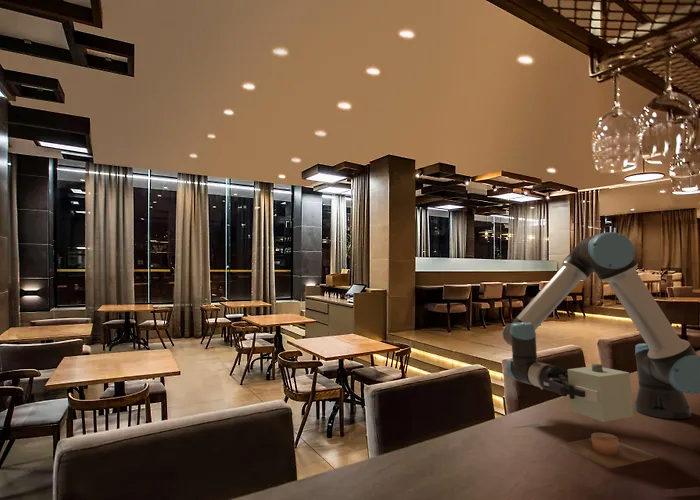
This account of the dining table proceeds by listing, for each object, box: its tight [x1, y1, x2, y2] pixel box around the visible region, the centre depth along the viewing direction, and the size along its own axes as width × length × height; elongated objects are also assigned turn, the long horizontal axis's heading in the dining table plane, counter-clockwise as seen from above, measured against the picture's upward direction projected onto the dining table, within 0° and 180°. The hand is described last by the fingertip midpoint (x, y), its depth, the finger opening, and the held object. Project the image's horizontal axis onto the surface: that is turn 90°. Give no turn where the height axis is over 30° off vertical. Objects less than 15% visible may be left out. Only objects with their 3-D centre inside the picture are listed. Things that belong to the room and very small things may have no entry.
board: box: [557, 437, 660, 470], centre depth 106 cm, size 16×16×1 cm
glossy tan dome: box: [590, 432, 619, 455], centre depth 107 cm, size 6×6×4 cm
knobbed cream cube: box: [567, 363, 634, 423], centre depth 108 cm, size 10×10×13 cm
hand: (613, 394), depth 104 cm, fingers closed on knobbed cream cube, 10 cm apart
